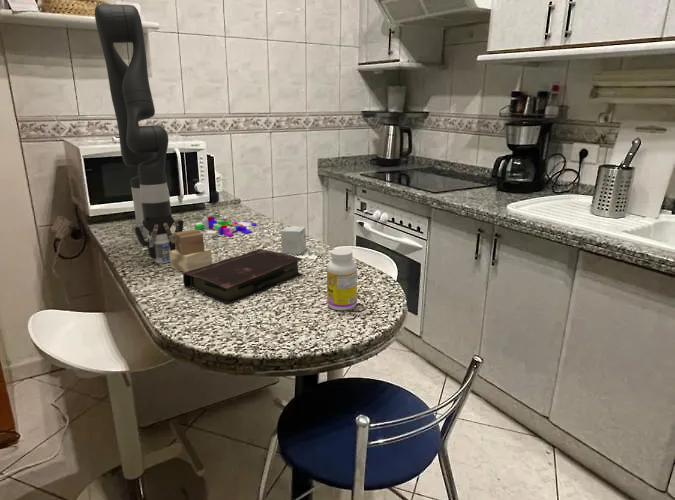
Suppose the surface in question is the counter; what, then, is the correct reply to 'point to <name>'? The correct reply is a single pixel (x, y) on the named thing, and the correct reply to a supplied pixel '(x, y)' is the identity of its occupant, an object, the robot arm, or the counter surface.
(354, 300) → the supplement bottle
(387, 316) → the counter surface
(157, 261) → the pill bottle
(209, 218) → the building block set
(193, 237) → the walnut block
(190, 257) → the maple block
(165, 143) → the robot arm
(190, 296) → the counter surface
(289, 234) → the skincare box
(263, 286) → the diary
